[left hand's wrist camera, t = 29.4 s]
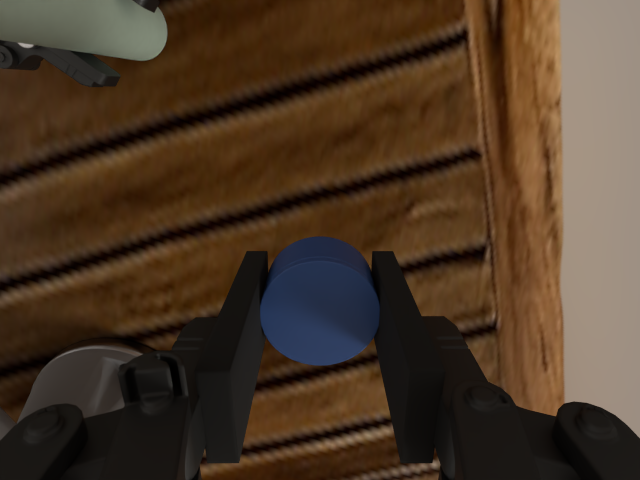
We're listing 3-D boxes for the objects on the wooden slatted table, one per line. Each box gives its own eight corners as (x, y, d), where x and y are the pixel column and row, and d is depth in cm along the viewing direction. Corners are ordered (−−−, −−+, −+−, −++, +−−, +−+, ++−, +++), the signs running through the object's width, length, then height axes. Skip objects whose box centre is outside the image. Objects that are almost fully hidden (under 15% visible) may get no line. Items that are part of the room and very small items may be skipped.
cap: (246, 271, 15) (234, 302, 13) (335, 215, 14) (337, 237, 12) (306, 345, 16) (304, 383, 14) (391, 297, 15) (403, 330, 13)
